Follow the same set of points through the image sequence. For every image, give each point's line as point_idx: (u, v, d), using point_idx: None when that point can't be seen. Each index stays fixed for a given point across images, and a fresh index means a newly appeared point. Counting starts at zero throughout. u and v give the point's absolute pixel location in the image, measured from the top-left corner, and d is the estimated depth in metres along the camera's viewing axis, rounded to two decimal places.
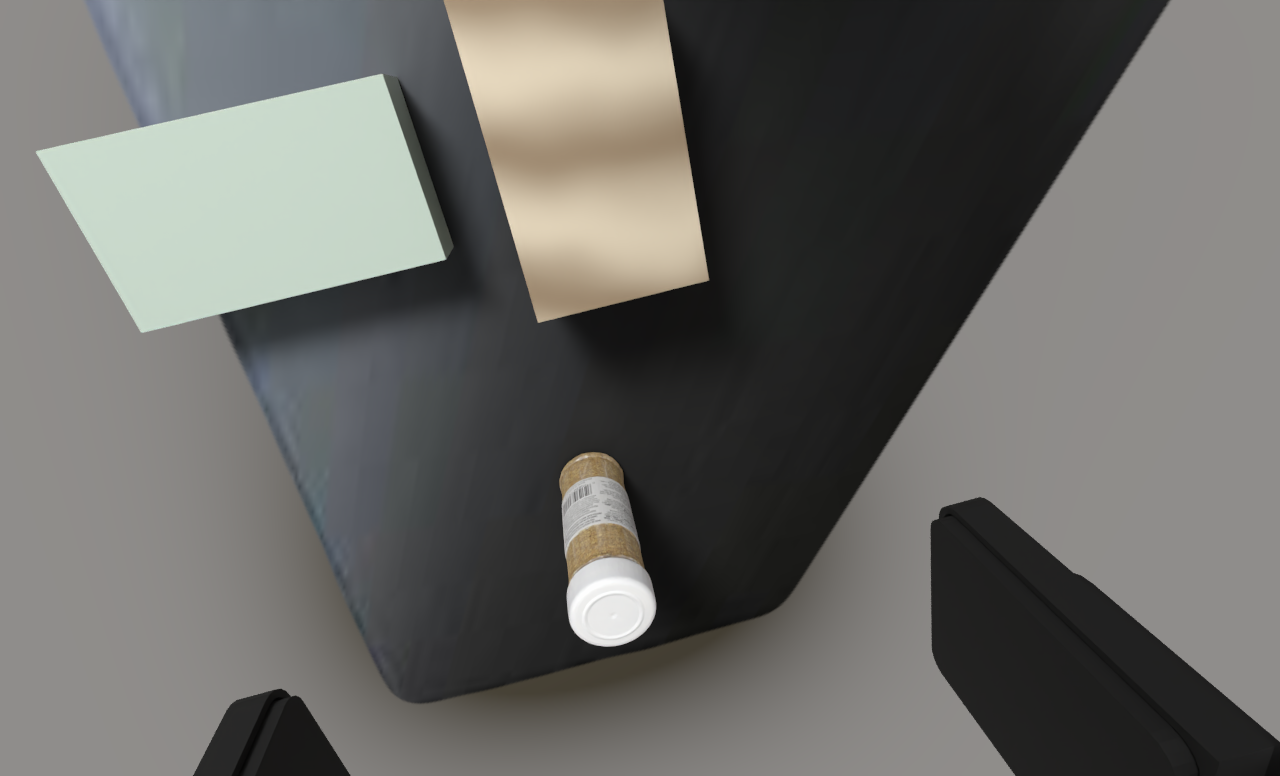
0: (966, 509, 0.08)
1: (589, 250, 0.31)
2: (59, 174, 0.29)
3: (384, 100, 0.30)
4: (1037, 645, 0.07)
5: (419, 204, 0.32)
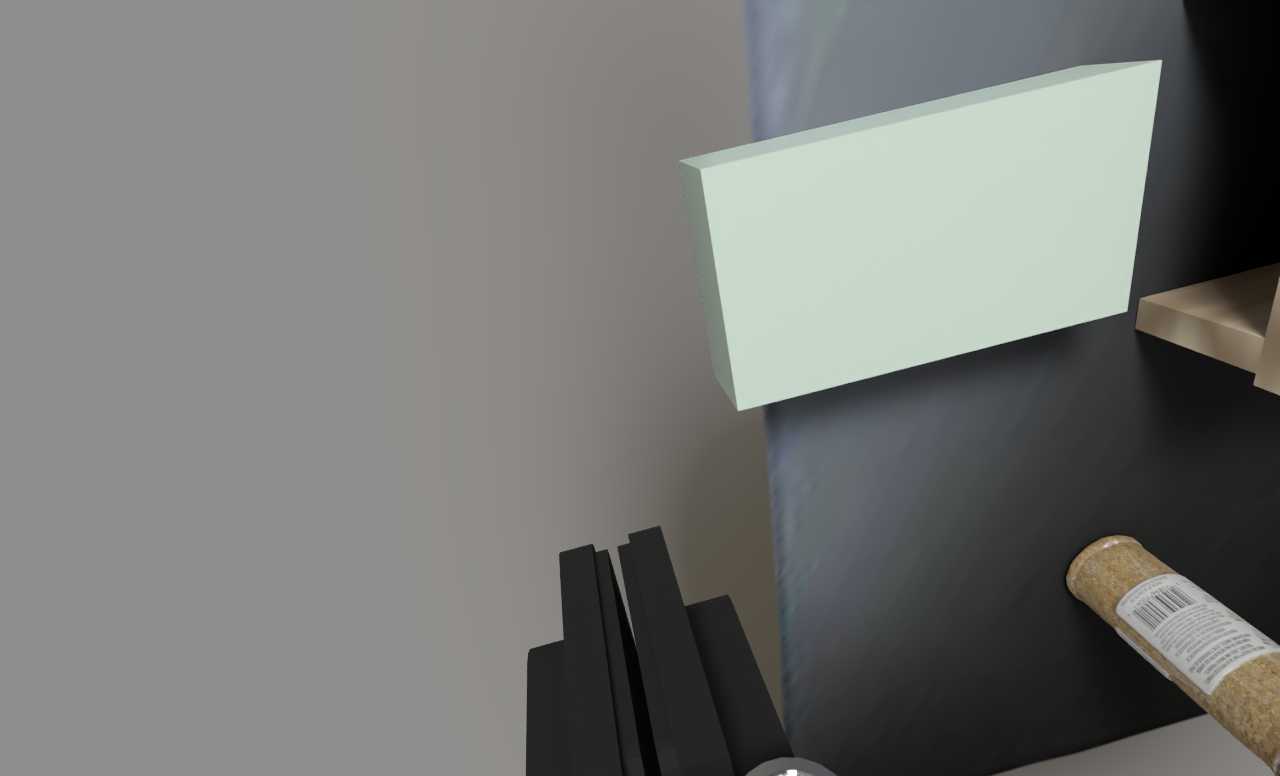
0: (639, 537, 0.09)
1: None
2: (718, 201, 0.21)
3: (1148, 97, 0.21)
4: None
5: (1128, 239, 0.24)
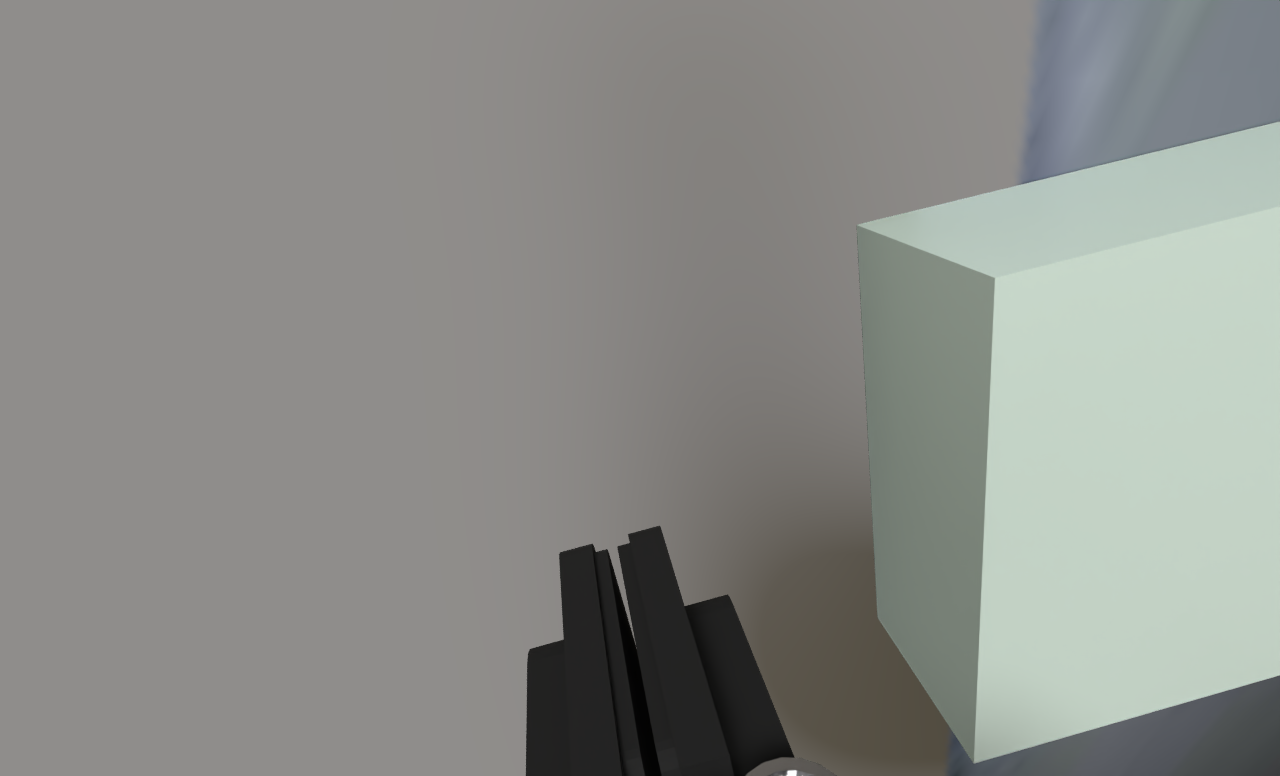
0: (638, 537, 0.09)
1: None
2: (1023, 356, 0.08)
3: None
4: None
5: None
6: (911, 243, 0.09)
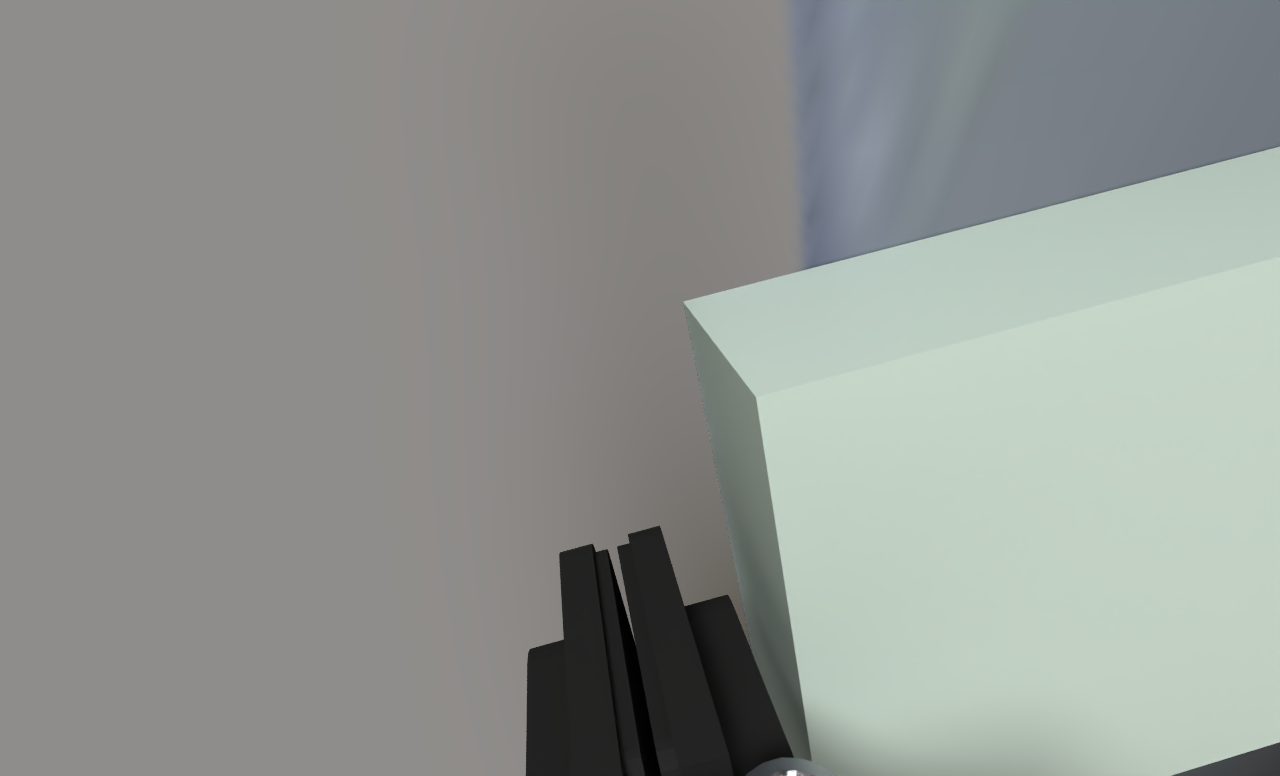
0: (638, 537, 0.09)
1: None
2: (806, 476, 0.07)
3: None
4: None
5: None
6: (715, 334, 0.08)
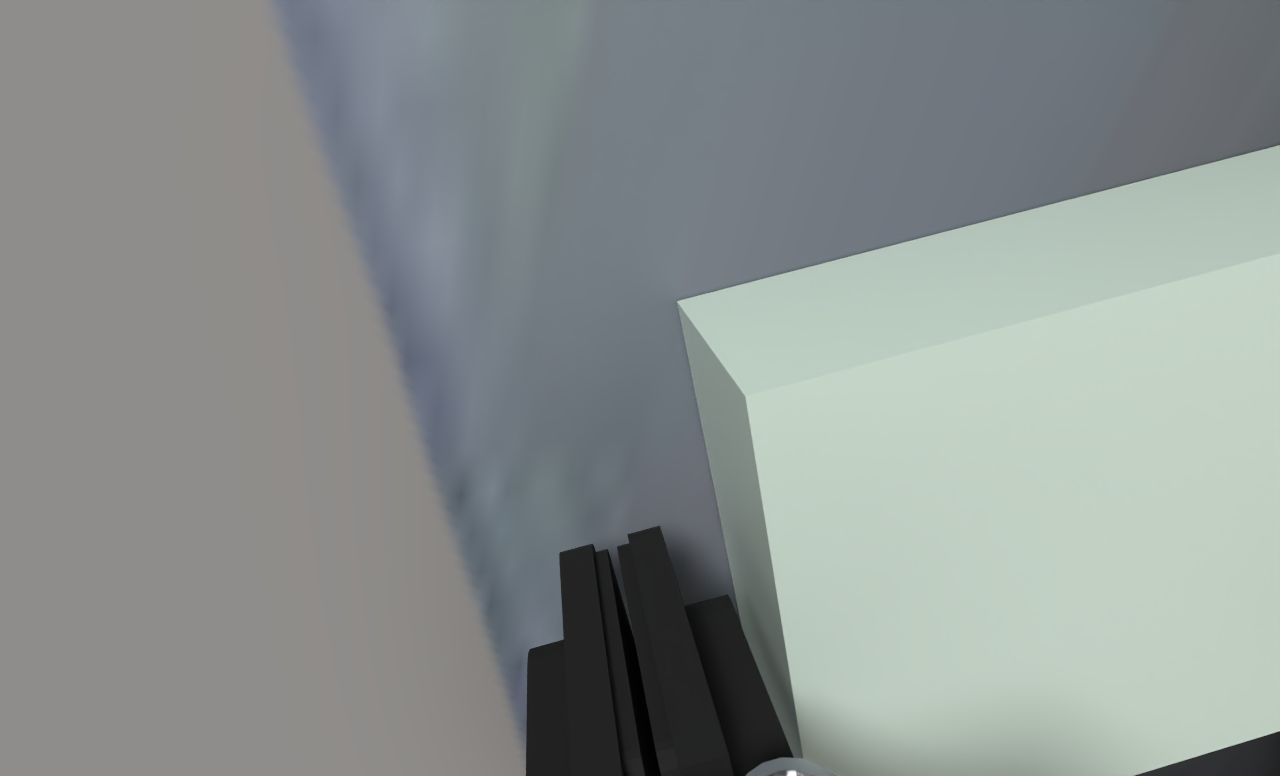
0: (638, 537, 0.09)
1: None
2: (795, 474, 0.07)
3: None
4: None
5: None
6: (707, 333, 0.08)
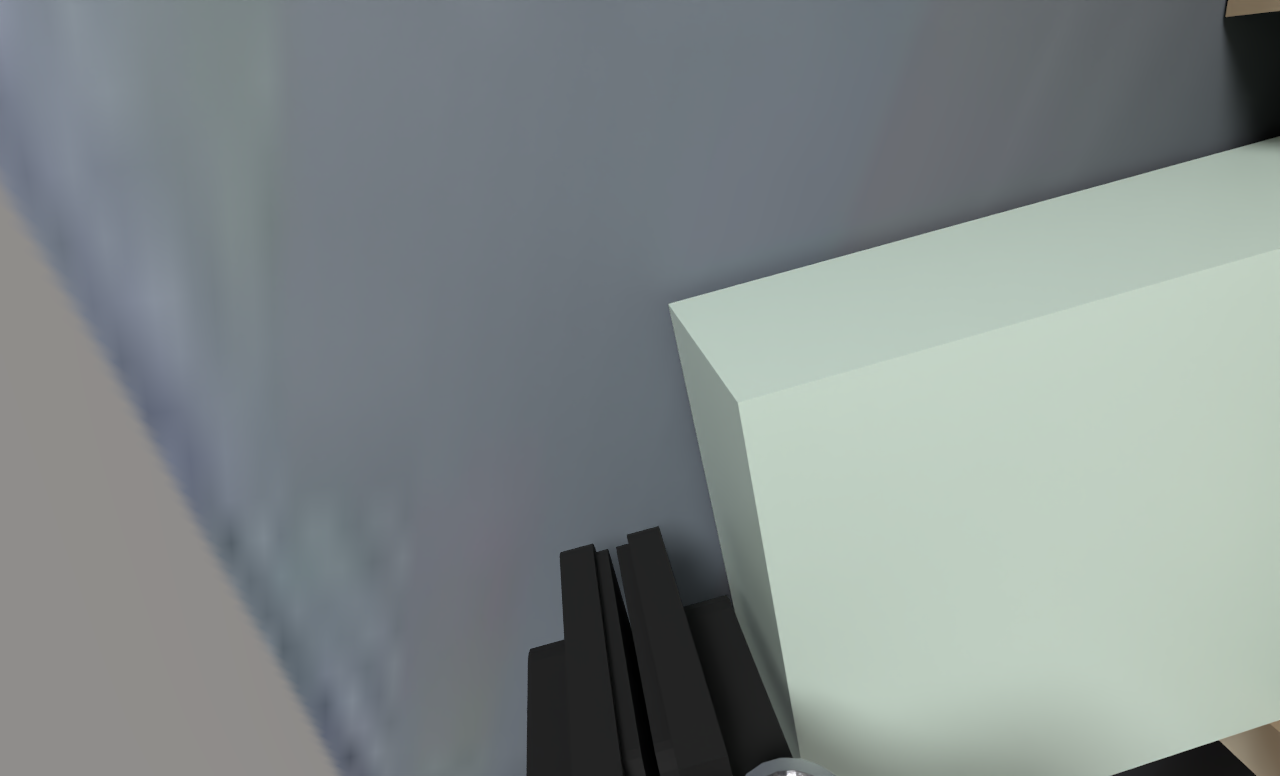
0: (638, 538, 0.09)
1: None
2: (789, 479, 0.07)
3: None
4: None
5: None
6: (699, 337, 0.08)
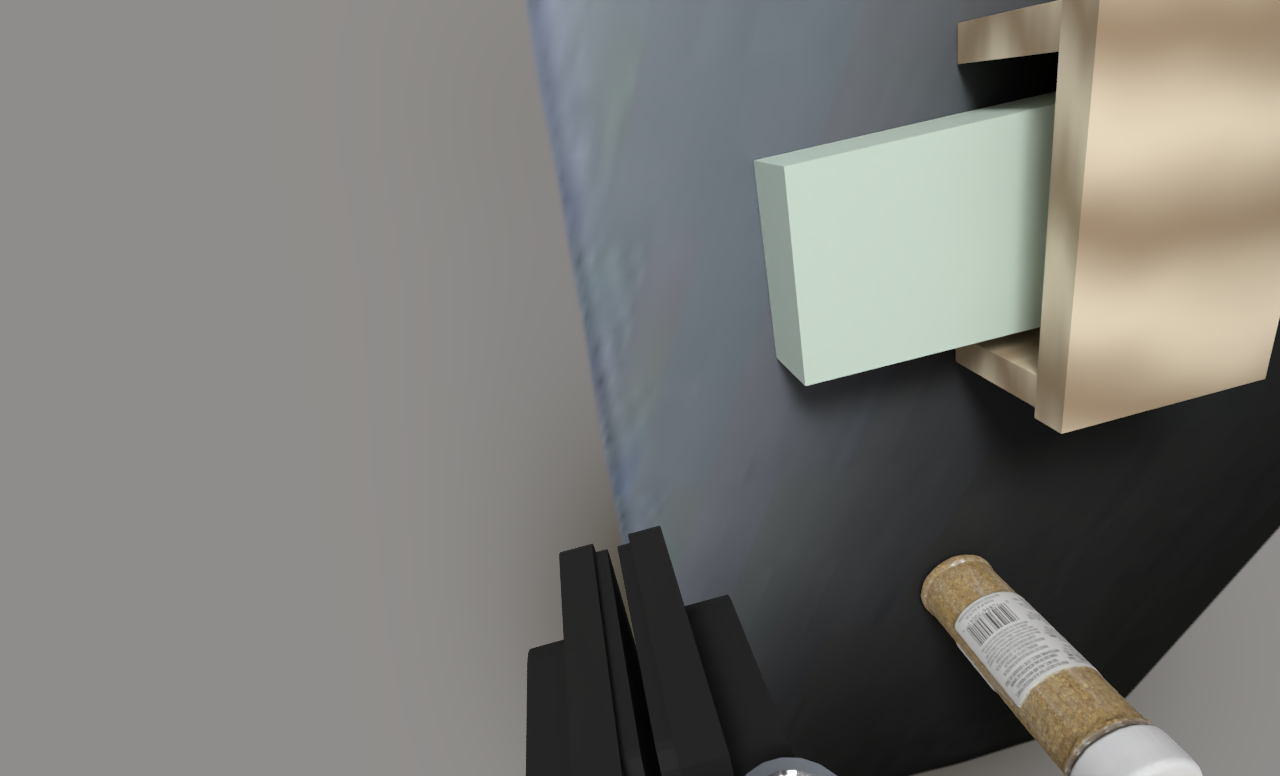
0: (639, 537, 0.09)
1: (1148, 346, 0.24)
2: (797, 195, 0.23)
3: None
4: None
5: None
6: (768, 163, 0.25)
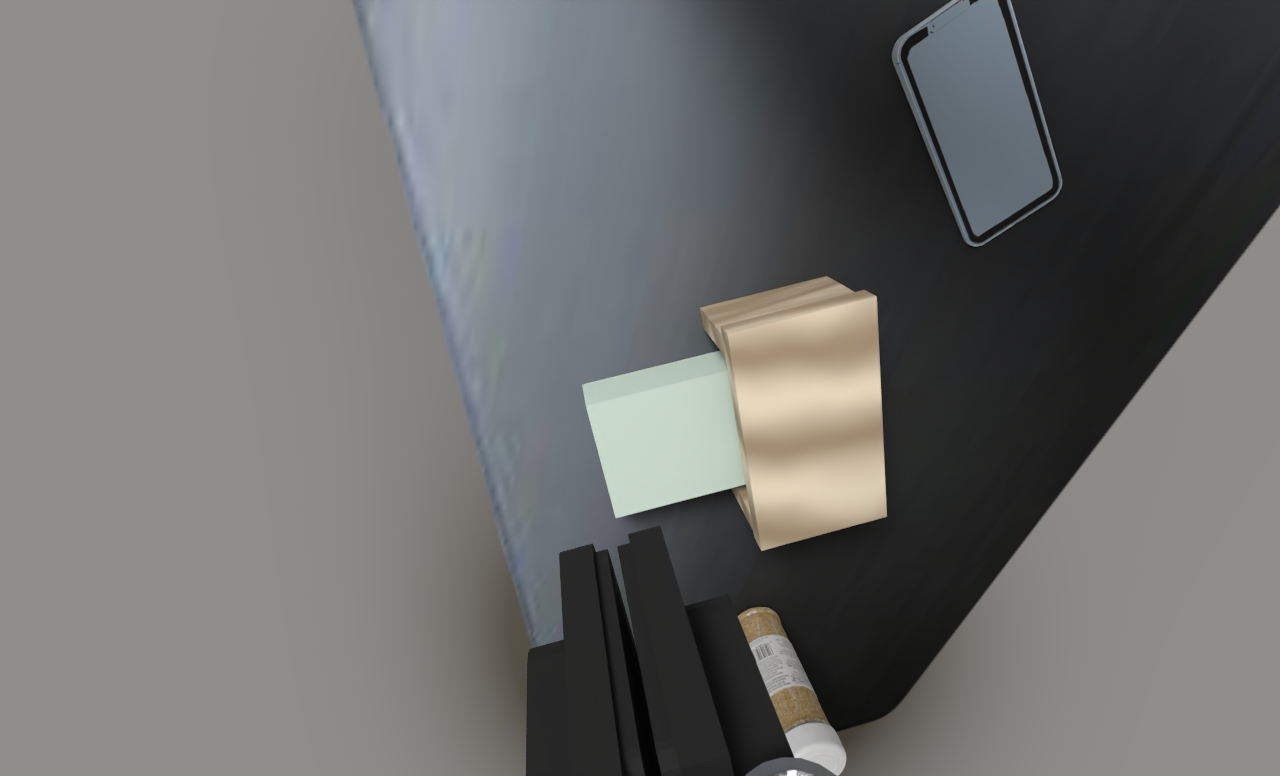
0: (639, 537, 0.09)
1: (804, 503, 0.42)
2: (596, 419, 0.41)
3: None
4: None
5: None
6: (585, 393, 0.42)
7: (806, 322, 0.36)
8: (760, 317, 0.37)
